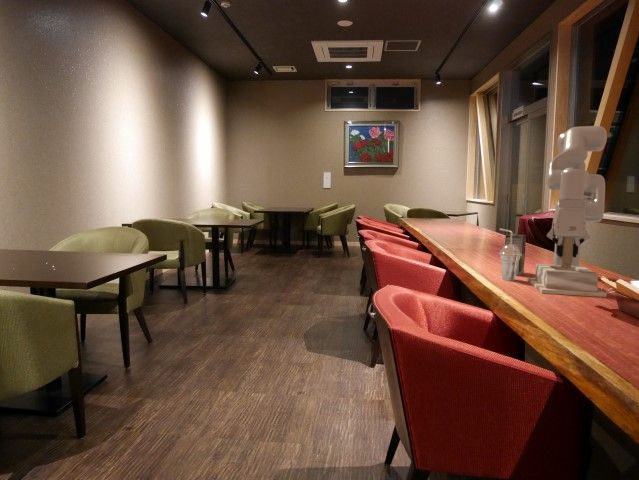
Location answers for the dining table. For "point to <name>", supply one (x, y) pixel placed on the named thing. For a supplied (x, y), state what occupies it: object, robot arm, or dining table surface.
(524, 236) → the coffee box
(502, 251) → the cup with straw
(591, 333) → the dining table surface
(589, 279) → the socket holder
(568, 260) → the handle
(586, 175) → the robot arm
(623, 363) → the dining table surface
